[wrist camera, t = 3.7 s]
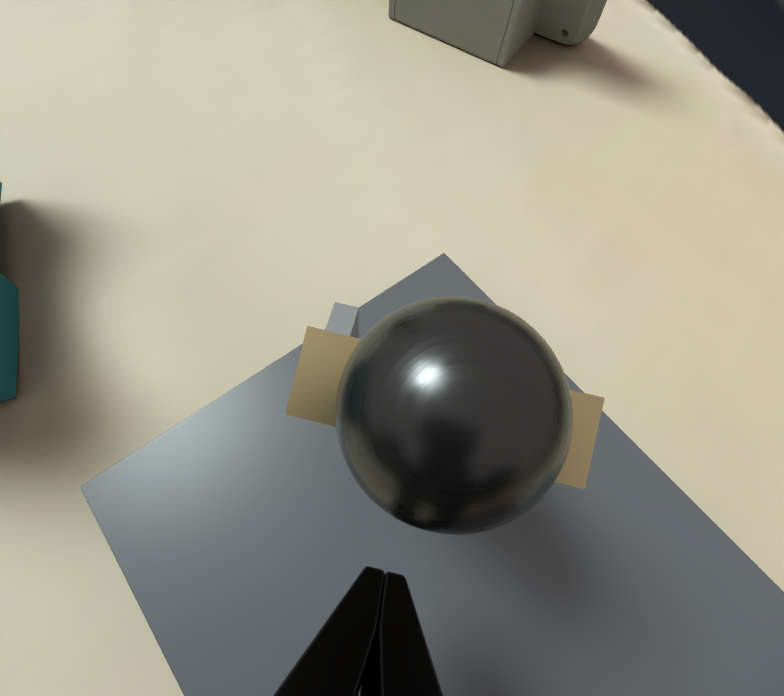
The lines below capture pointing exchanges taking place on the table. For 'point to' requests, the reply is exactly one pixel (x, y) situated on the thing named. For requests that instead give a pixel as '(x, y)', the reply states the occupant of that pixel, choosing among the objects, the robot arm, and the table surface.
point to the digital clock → (499, 22)
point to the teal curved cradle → (8, 336)
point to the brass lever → (449, 413)
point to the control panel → (428, 557)
